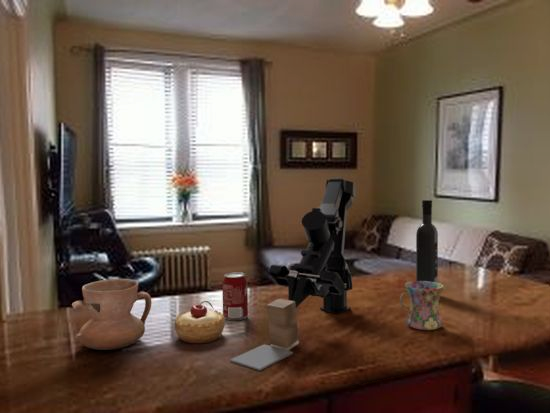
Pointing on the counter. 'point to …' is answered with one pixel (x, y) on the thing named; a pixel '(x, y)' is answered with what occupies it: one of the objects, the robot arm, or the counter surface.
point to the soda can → (235, 296)
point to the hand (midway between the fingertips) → (290, 309)
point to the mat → (261, 357)
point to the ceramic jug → (112, 314)
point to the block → (283, 324)
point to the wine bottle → (427, 247)
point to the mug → (423, 304)
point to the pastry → (200, 324)
